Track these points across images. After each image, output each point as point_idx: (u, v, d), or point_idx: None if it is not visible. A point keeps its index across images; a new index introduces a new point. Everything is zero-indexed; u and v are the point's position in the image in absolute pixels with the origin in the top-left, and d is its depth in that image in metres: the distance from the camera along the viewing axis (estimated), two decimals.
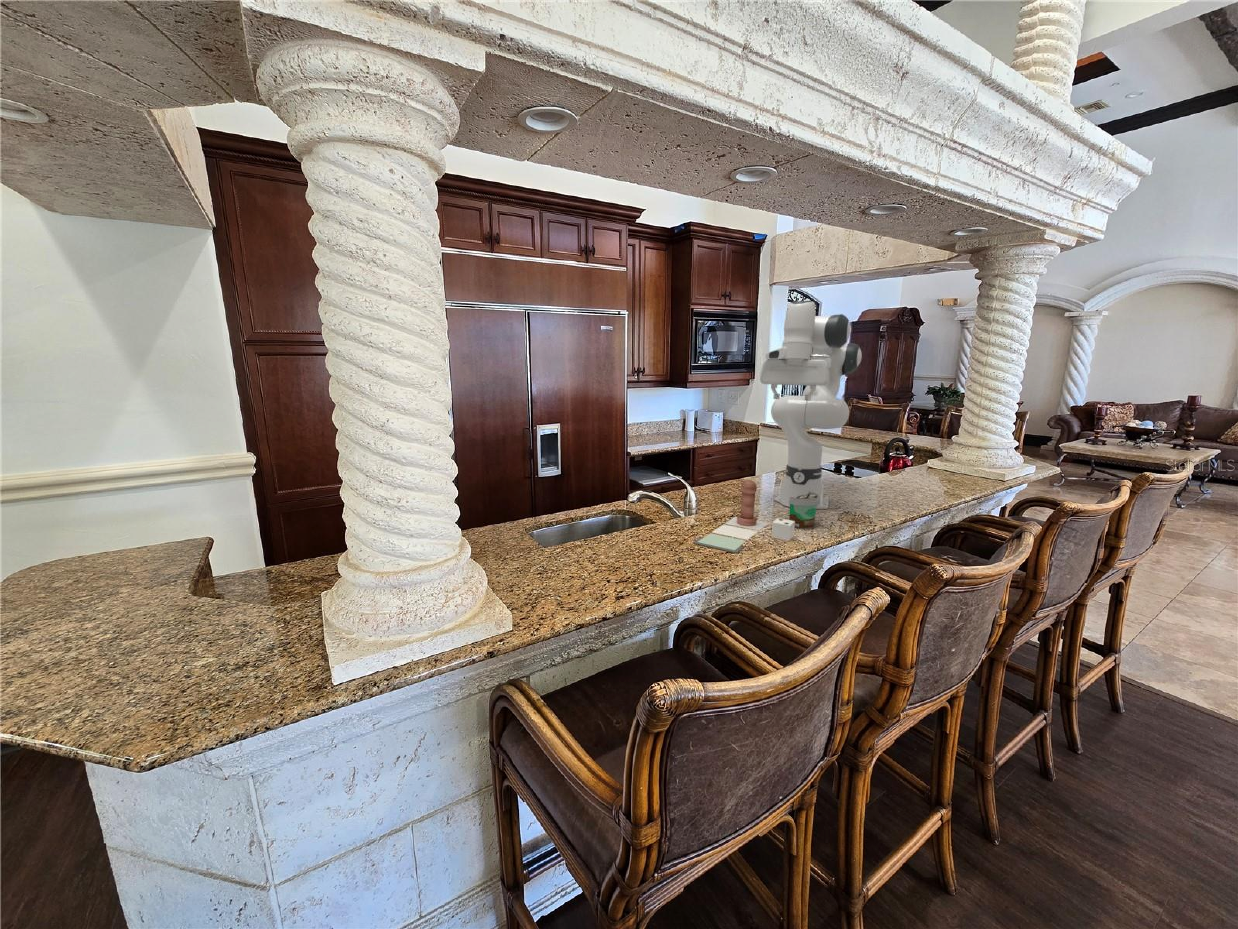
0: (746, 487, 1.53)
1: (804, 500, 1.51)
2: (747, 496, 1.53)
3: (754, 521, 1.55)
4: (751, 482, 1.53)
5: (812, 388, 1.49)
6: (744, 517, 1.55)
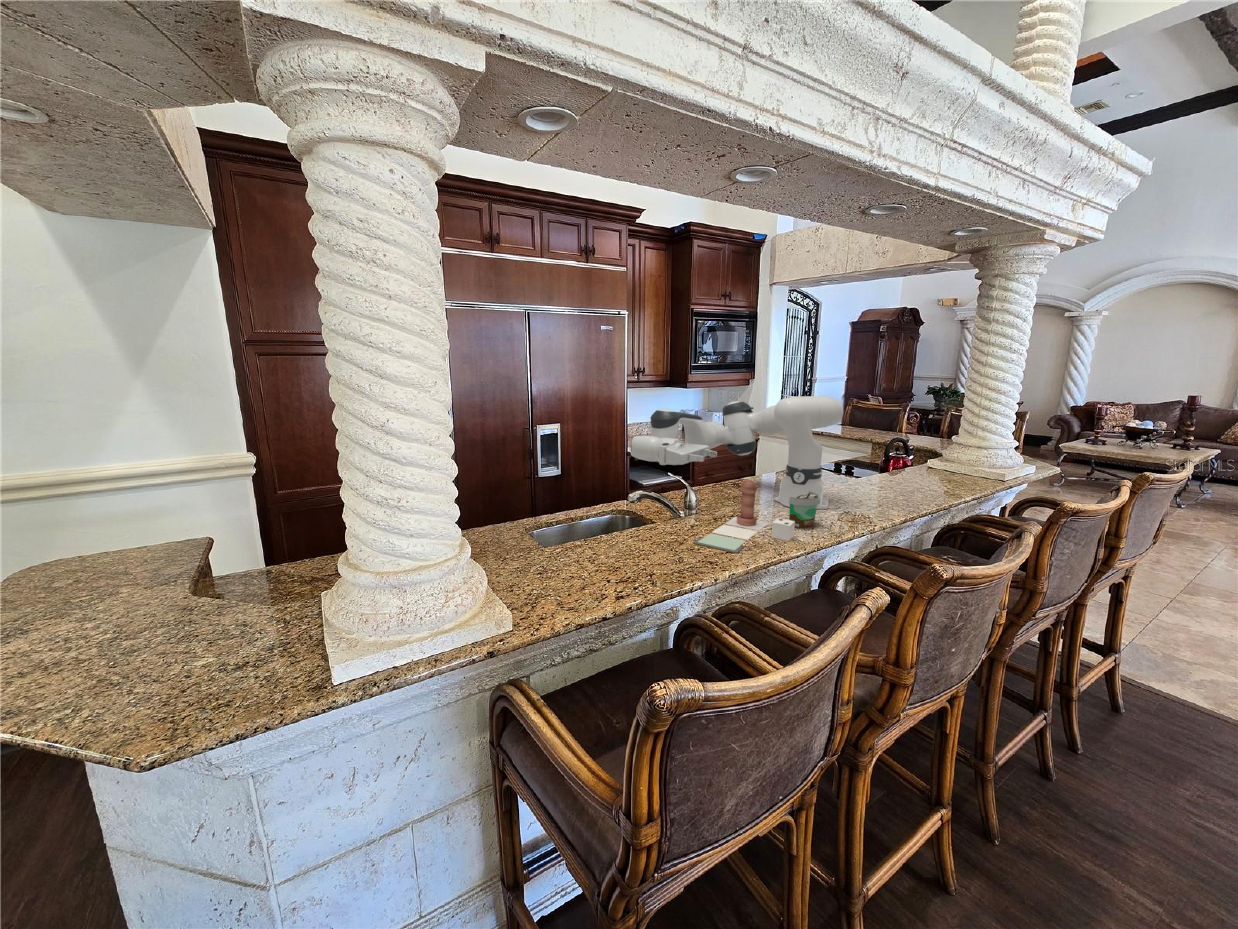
0: (746, 487, 1.53)
1: (804, 500, 1.51)
2: (747, 496, 1.53)
3: (754, 521, 1.55)
4: (751, 482, 1.53)
5: (707, 449, 1.67)
6: (744, 517, 1.55)
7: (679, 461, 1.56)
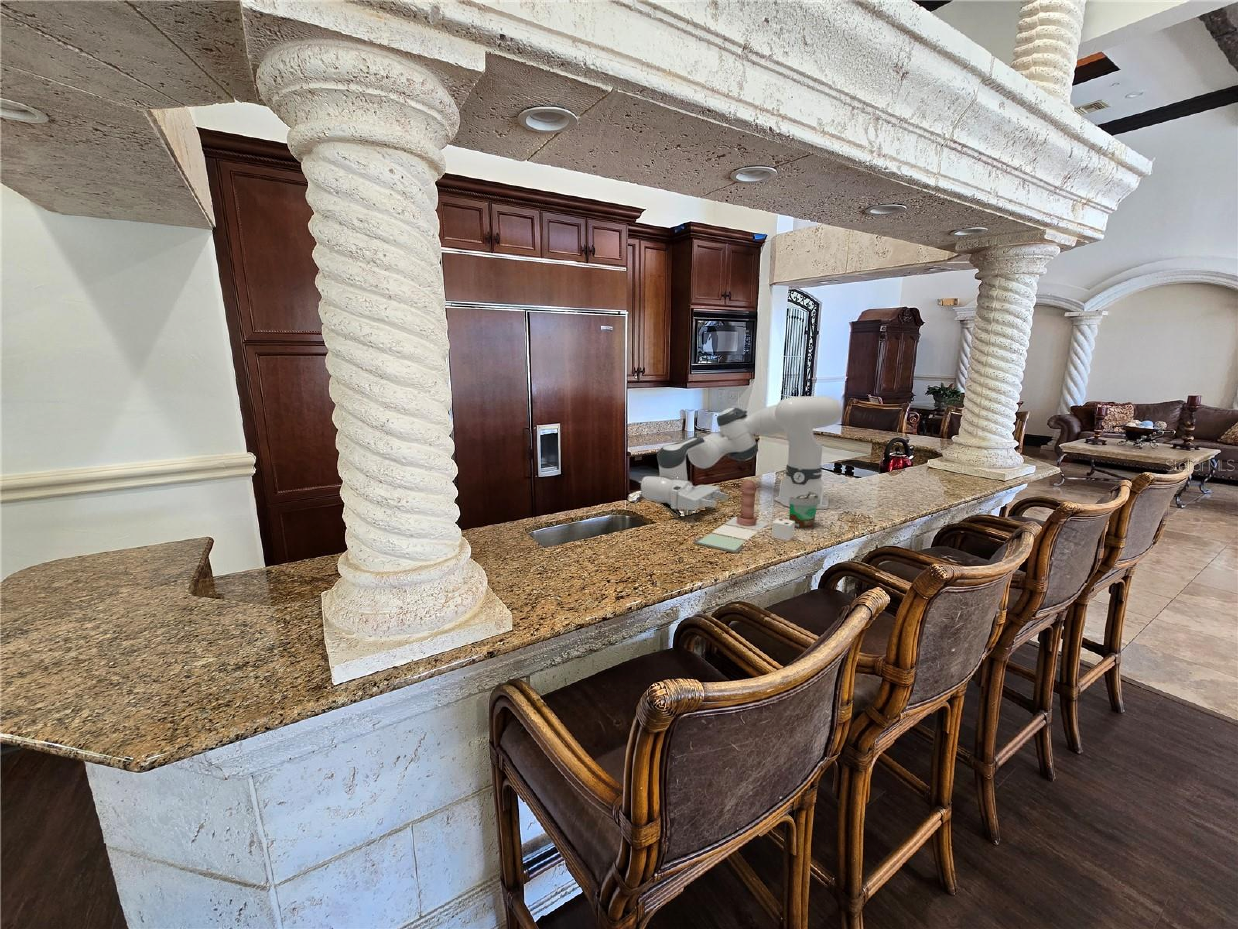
0: (745, 487, 1.53)
1: (804, 500, 1.51)
2: (747, 496, 1.53)
3: (754, 521, 1.55)
4: (751, 482, 1.53)
5: (718, 491, 1.67)
6: (744, 517, 1.55)
7: (691, 507, 1.55)
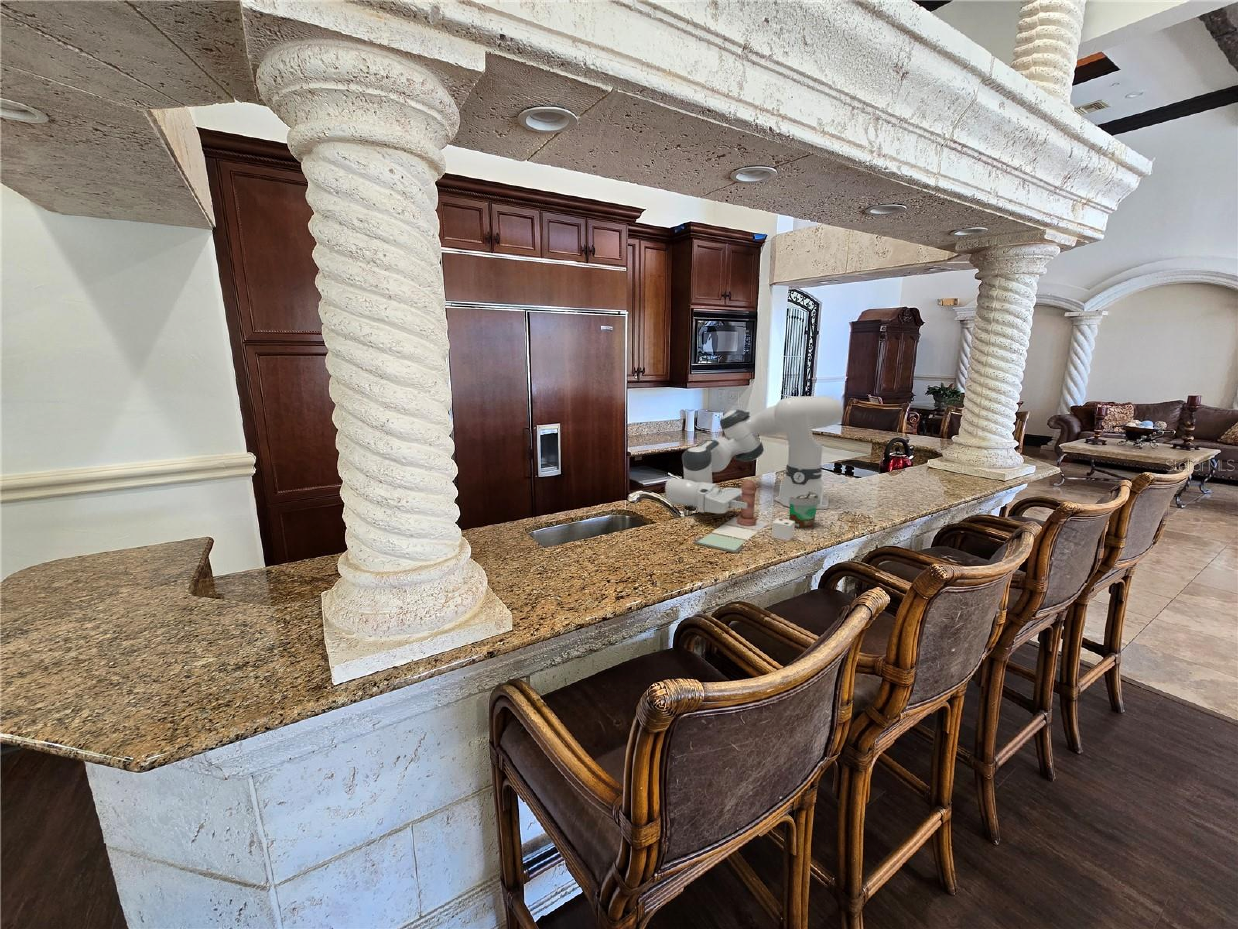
0: (746, 487, 1.53)
1: (804, 500, 1.51)
2: (747, 496, 1.53)
3: (754, 521, 1.55)
4: (751, 482, 1.53)
5: None
6: (744, 517, 1.55)
7: (720, 510, 1.50)
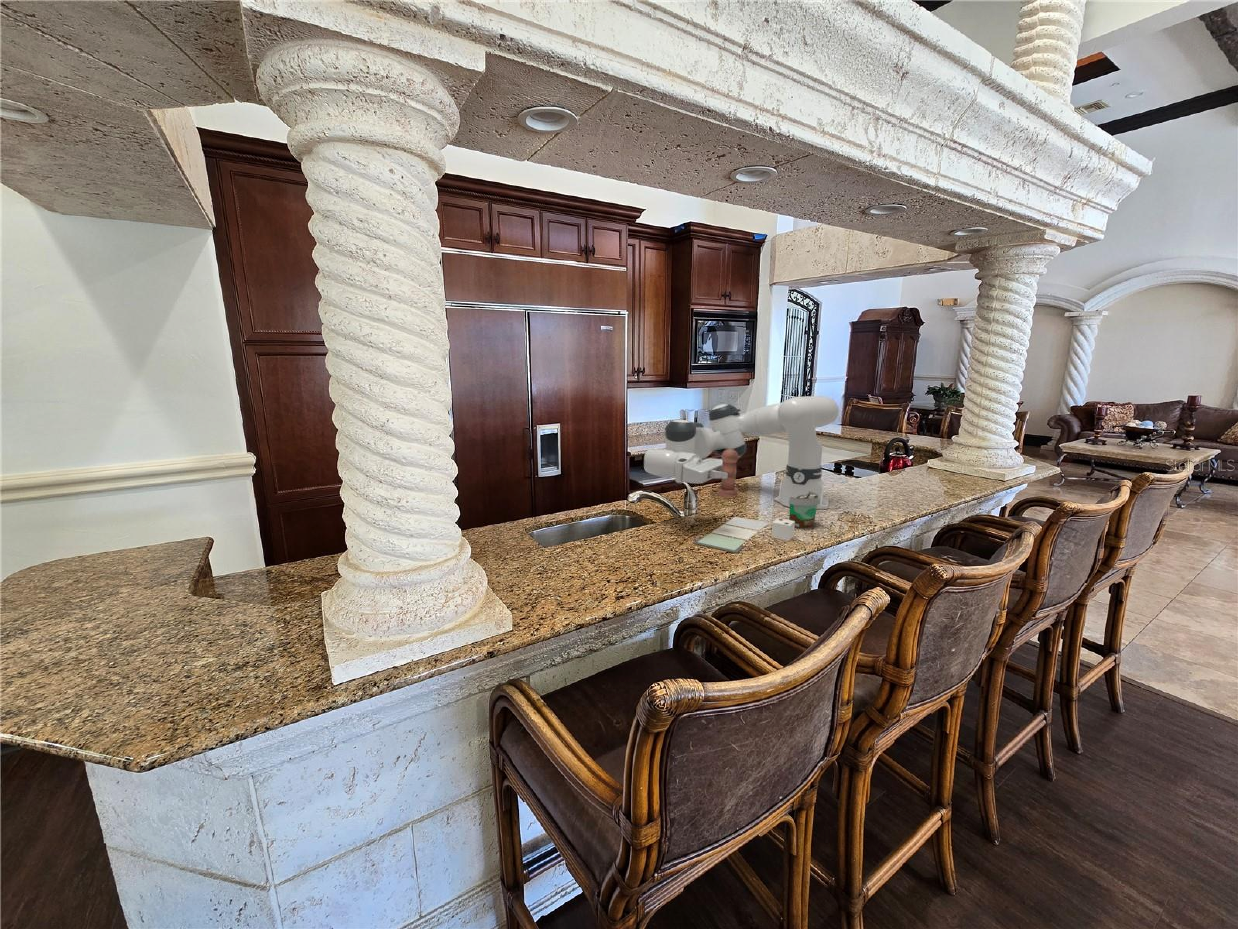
0: (726, 456, 1.44)
1: (804, 500, 1.51)
2: (728, 465, 1.44)
3: (735, 492, 1.46)
4: (732, 451, 1.44)
5: None
6: (724, 488, 1.46)
7: (698, 480, 1.42)
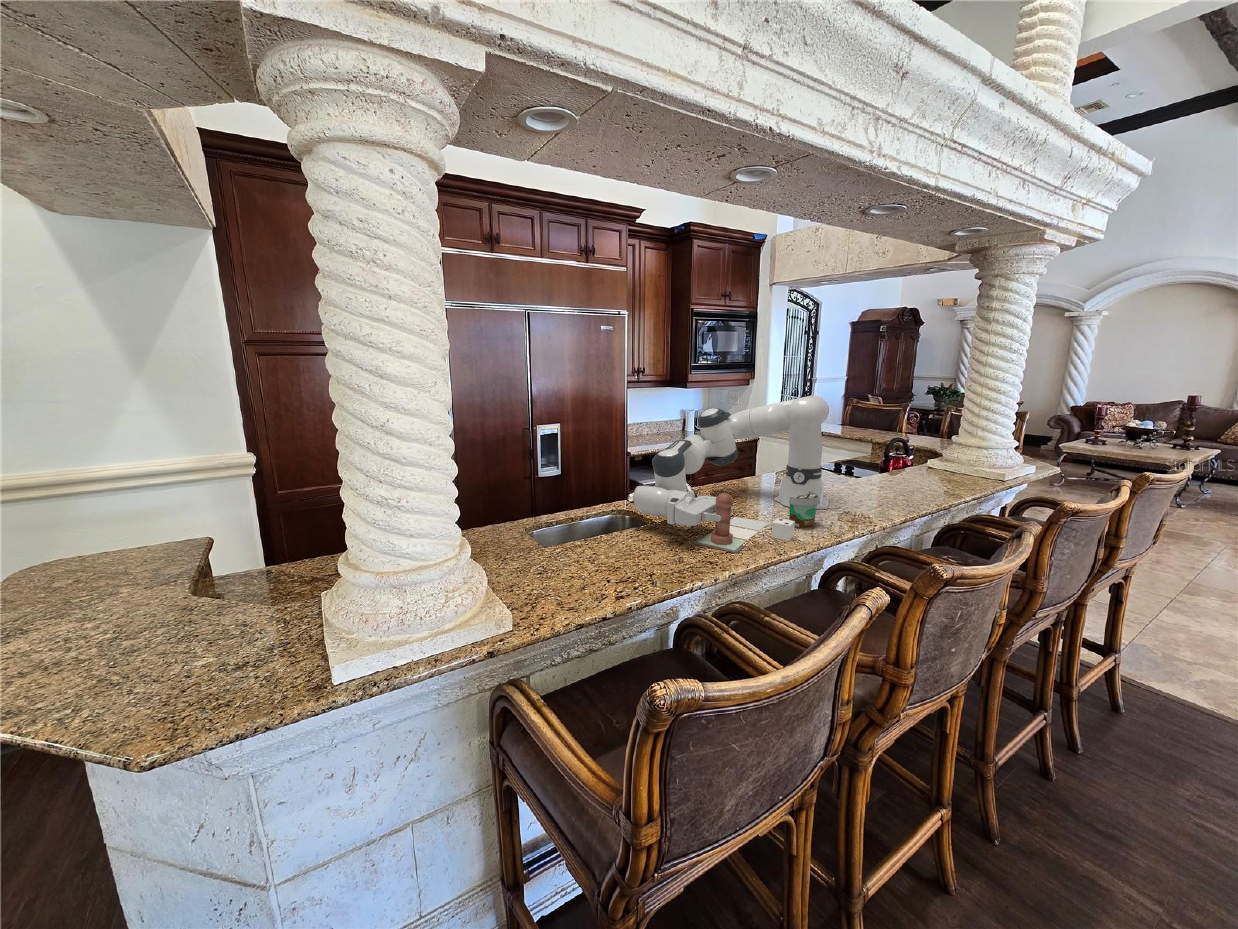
0: (720, 501, 1.37)
1: (804, 500, 1.51)
2: (722, 511, 1.37)
3: (730, 539, 1.38)
4: (726, 495, 1.37)
5: None
6: (719, 534, 1.39)
7: (691, 522, 1.34)
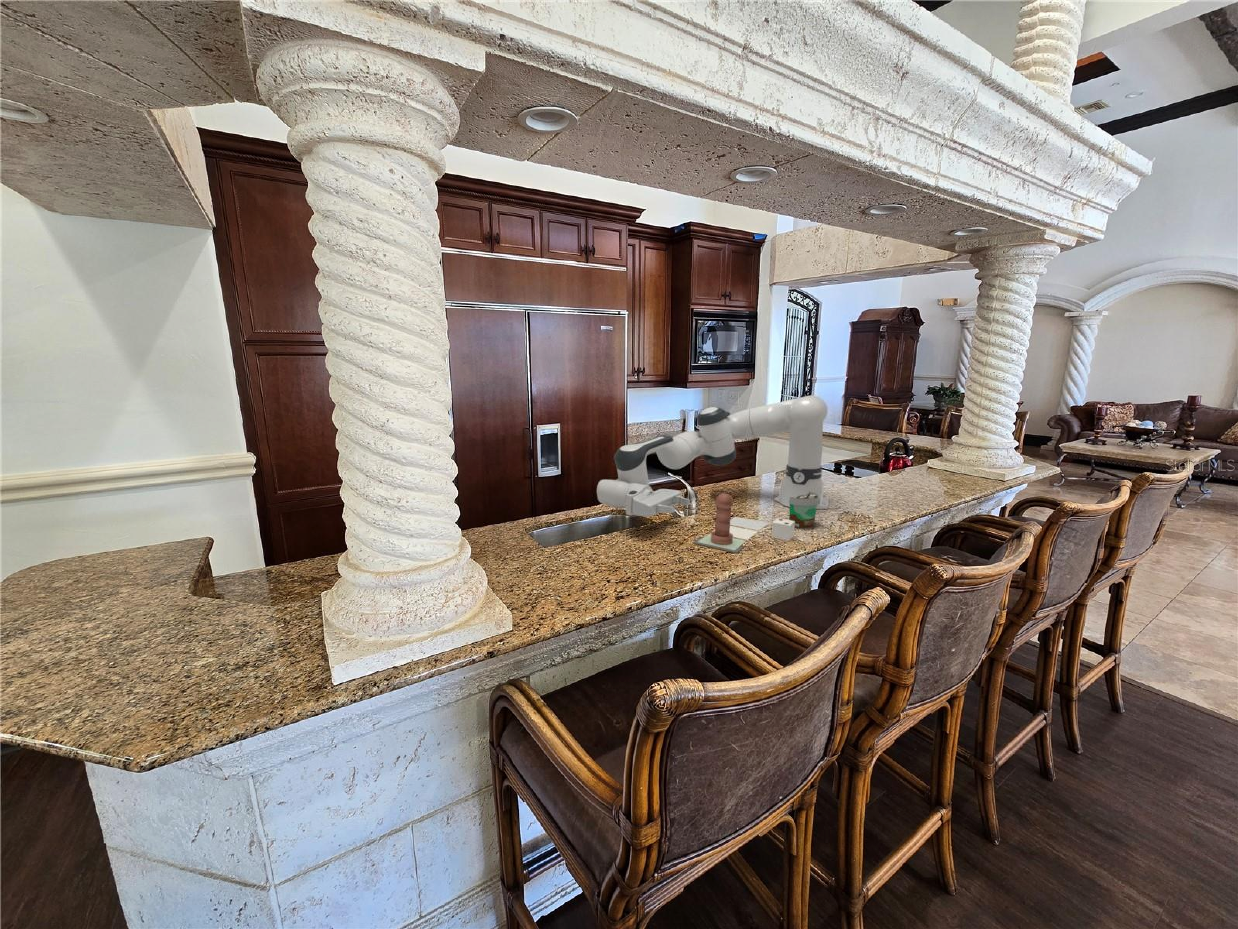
0: (720, 502, 1.36)
1: (804, 500, 1.51)
2: (722, 511, 1.37)
3: (730, 539, 1.38)
4: (726, 496, 1.37)
5: (679, 496, 1.53)
6: (719, 535, 1.39)
7: (646, 513, 1.42)
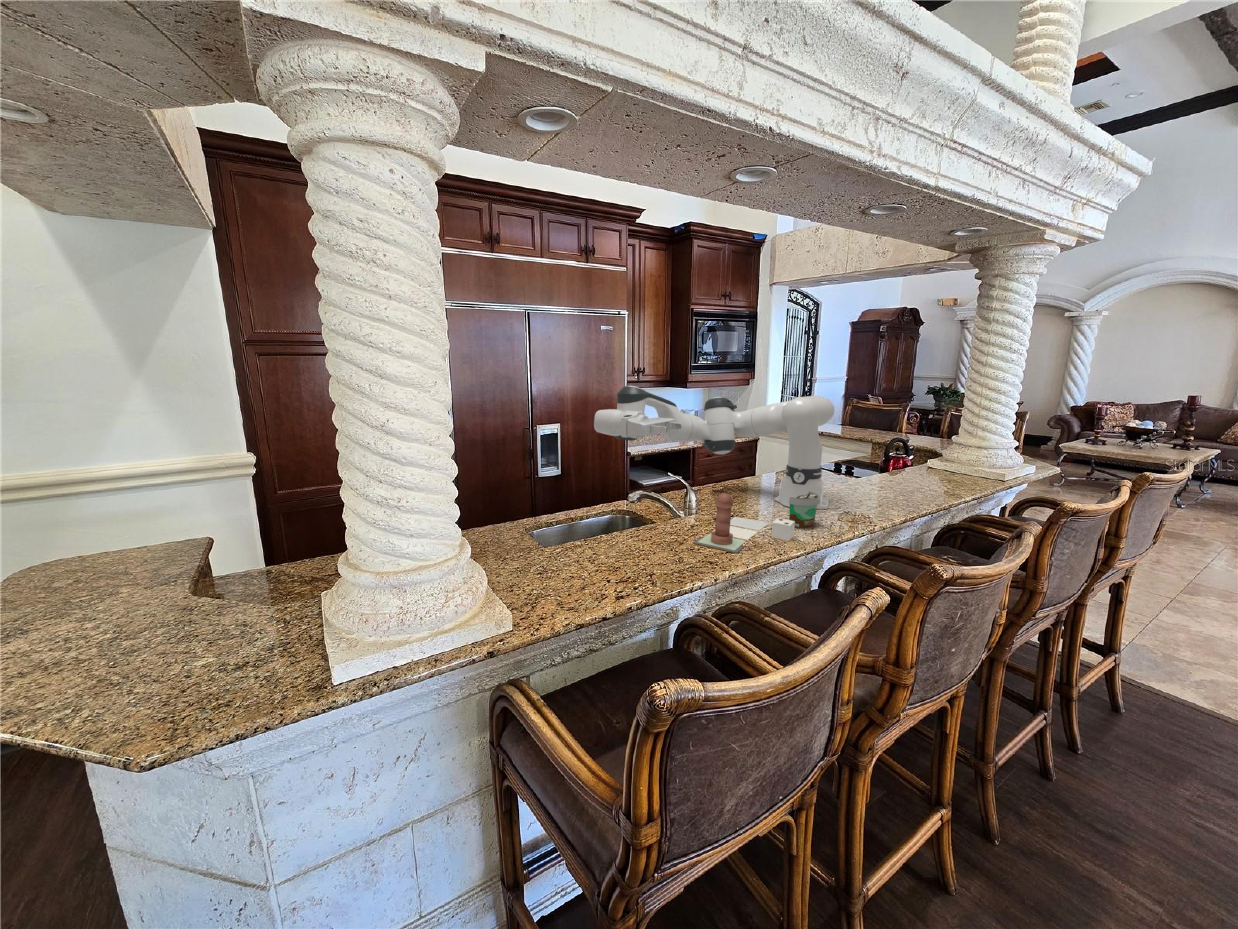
0: (721, 501, 1.36)
1: (804, 500, 1.51)
2: (723, 511, 1.37)
3: (730, 539, 1.38)
4: (727, 496, 1.37)
5: (672, 422, 1.60)
6: (719, 534, 1.39)
7: (640, 432, 1.49)
